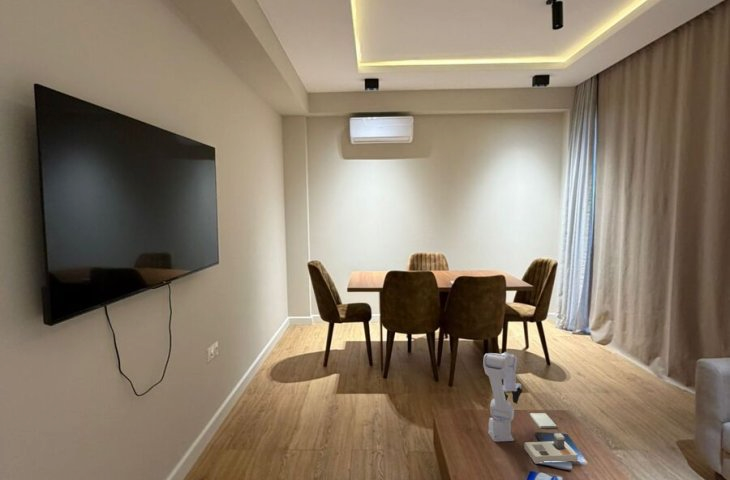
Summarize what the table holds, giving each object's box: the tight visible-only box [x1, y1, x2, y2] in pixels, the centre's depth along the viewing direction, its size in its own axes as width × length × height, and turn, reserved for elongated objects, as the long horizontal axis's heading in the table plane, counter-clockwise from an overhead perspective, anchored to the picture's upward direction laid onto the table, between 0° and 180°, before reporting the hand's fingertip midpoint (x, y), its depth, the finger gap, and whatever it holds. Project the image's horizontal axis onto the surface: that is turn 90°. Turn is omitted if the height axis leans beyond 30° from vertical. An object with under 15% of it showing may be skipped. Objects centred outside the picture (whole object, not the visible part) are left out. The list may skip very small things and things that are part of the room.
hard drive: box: [529, 412, 558, 429], centre depth 189 cm, size 2×8×12 cm
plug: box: [553, 432, 565, 450], centre depth 163 cm, size 3×3×8 cm
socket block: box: [524, 440, 579, 464], centre depth 162 cm, size 18×10×3 cm, turn 92°
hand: (509, 404), depth 188 cm, fingers open, 7 cm apart
